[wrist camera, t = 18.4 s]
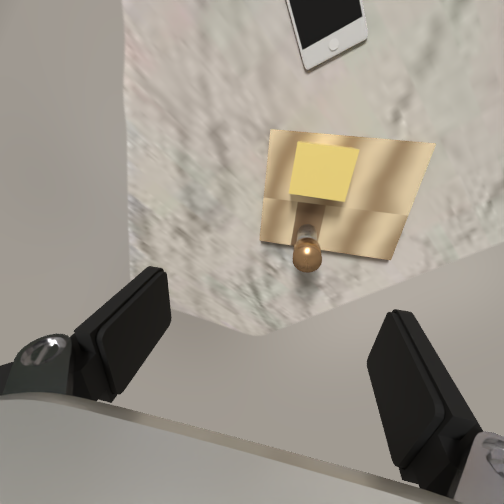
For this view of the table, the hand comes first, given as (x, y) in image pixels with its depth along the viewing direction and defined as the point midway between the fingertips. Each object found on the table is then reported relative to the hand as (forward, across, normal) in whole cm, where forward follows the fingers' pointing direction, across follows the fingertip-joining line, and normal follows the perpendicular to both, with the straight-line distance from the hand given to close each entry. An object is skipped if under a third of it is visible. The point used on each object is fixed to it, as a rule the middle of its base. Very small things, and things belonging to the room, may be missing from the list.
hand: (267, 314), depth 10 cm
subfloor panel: (+28, -6, +1) cm, 29 cm away
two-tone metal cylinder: (+27, -3, +6) cm, 28 cm away
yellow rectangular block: (+27, -3, -3) cm, 27 cm away
